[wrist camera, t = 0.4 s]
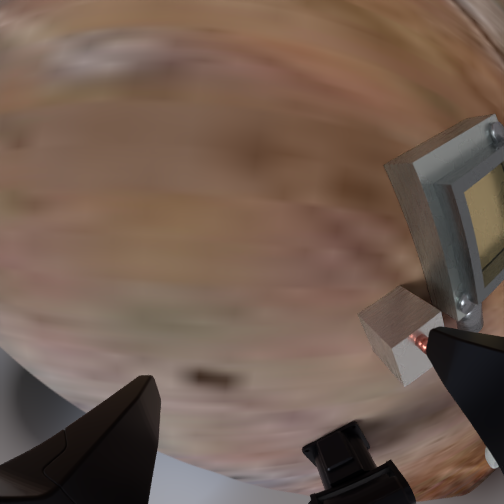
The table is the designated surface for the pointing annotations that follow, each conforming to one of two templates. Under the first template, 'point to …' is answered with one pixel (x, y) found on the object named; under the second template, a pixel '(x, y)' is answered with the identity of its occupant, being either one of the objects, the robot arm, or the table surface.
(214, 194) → the table surface
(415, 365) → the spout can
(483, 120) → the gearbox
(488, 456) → the cereal bowl
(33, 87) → the table surface
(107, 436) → the robot arm
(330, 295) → the table surface
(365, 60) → the table surface
